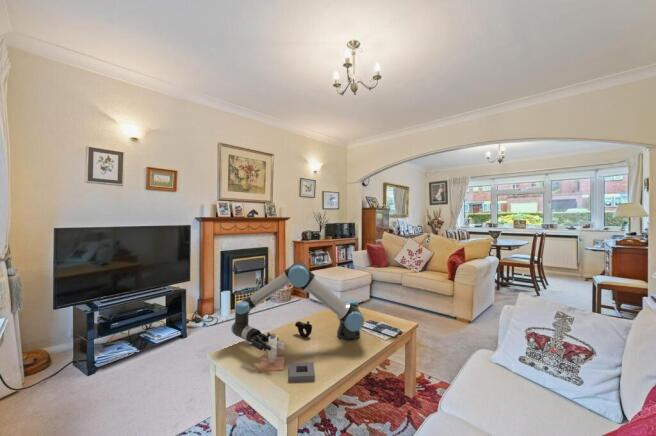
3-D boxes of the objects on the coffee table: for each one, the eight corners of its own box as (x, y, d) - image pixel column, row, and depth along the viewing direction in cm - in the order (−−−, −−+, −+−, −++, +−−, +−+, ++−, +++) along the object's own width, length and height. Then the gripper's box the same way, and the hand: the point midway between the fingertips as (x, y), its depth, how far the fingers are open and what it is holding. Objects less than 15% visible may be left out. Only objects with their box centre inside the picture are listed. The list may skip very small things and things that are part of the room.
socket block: (313, 367, 141) (313, 362, 141) (314, 382, 129) (314, 375, 129) (289, 368, 140) (289, 362, 140) (288, 383, 128) (289, 376, 128)
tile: (284, 358, 150) (284, 356, 150) (283, 371, 138) (283, 369, 138) (262, 359, 148) (262, 357, 148) (258, 372, 136) (259, 370, 136)
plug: (276, 358, 145) (277, 332, 145) (276, 362, 141) (277, 336, 141) (268, 358, 145) (269, 332, 145) (267, 362, 140) (268, 336, 140)
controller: (309, 339, 173) (309, 323, 172) (293, 334, 179) (294, 319, 179) (313, 337, 176) (313, 321, 176) (298, 332, 183) (298, 317, 183)
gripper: (264, 336, 161) (292, 349, 146) (237, 347, 147) (265, 362, 133) (264, 323, 161) (292, 335, 146) (238, 333, 147) (266, 347, 133)
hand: (279, 348), depth 139 cm, fingers closed on plug, 4 cm apart
